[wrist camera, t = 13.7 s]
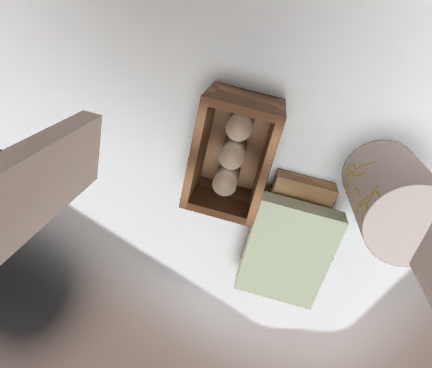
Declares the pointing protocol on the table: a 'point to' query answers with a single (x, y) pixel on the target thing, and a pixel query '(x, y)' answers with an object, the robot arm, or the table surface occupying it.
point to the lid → (289, 249)
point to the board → (304, 188)
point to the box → (232, 152)
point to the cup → (389, 199)
